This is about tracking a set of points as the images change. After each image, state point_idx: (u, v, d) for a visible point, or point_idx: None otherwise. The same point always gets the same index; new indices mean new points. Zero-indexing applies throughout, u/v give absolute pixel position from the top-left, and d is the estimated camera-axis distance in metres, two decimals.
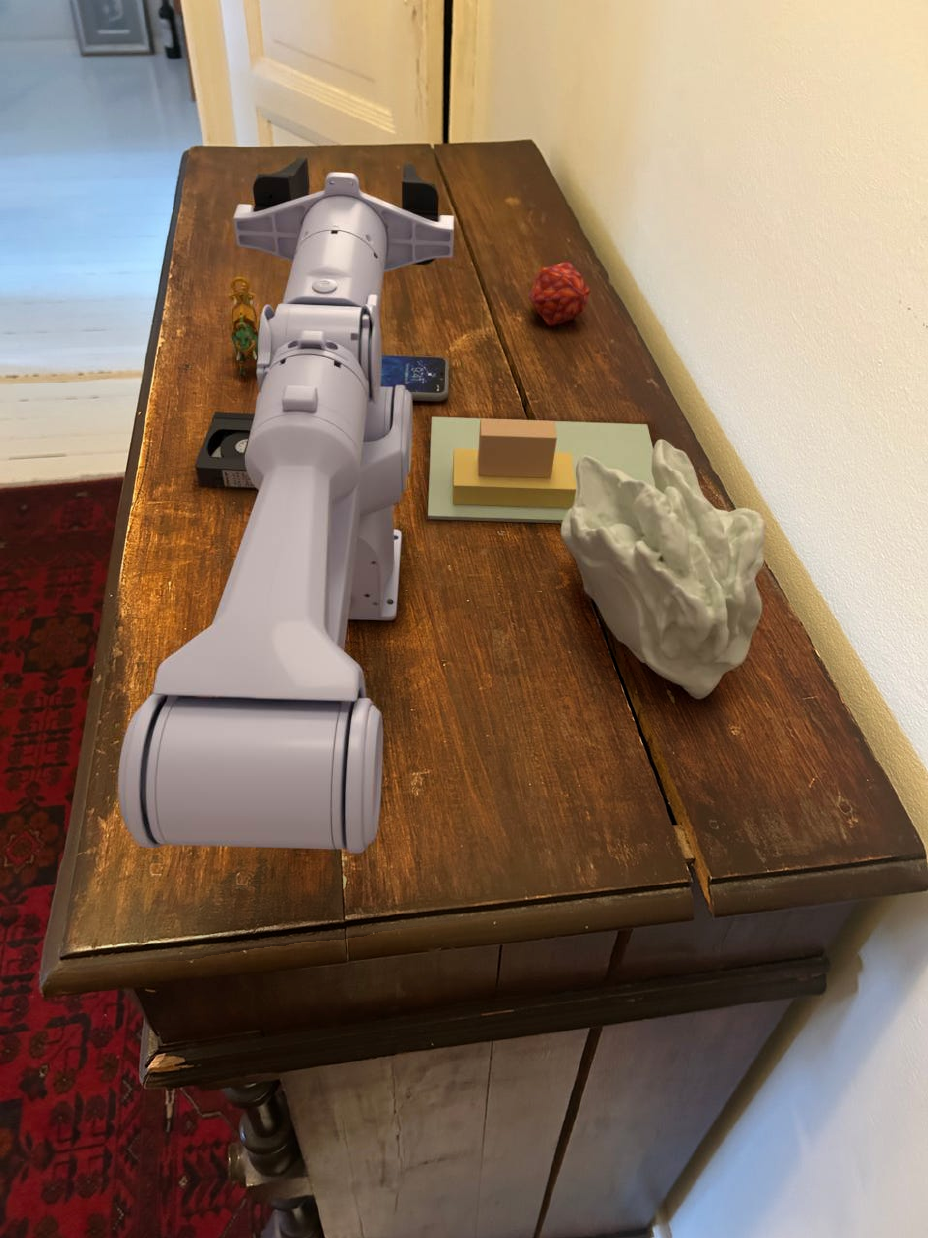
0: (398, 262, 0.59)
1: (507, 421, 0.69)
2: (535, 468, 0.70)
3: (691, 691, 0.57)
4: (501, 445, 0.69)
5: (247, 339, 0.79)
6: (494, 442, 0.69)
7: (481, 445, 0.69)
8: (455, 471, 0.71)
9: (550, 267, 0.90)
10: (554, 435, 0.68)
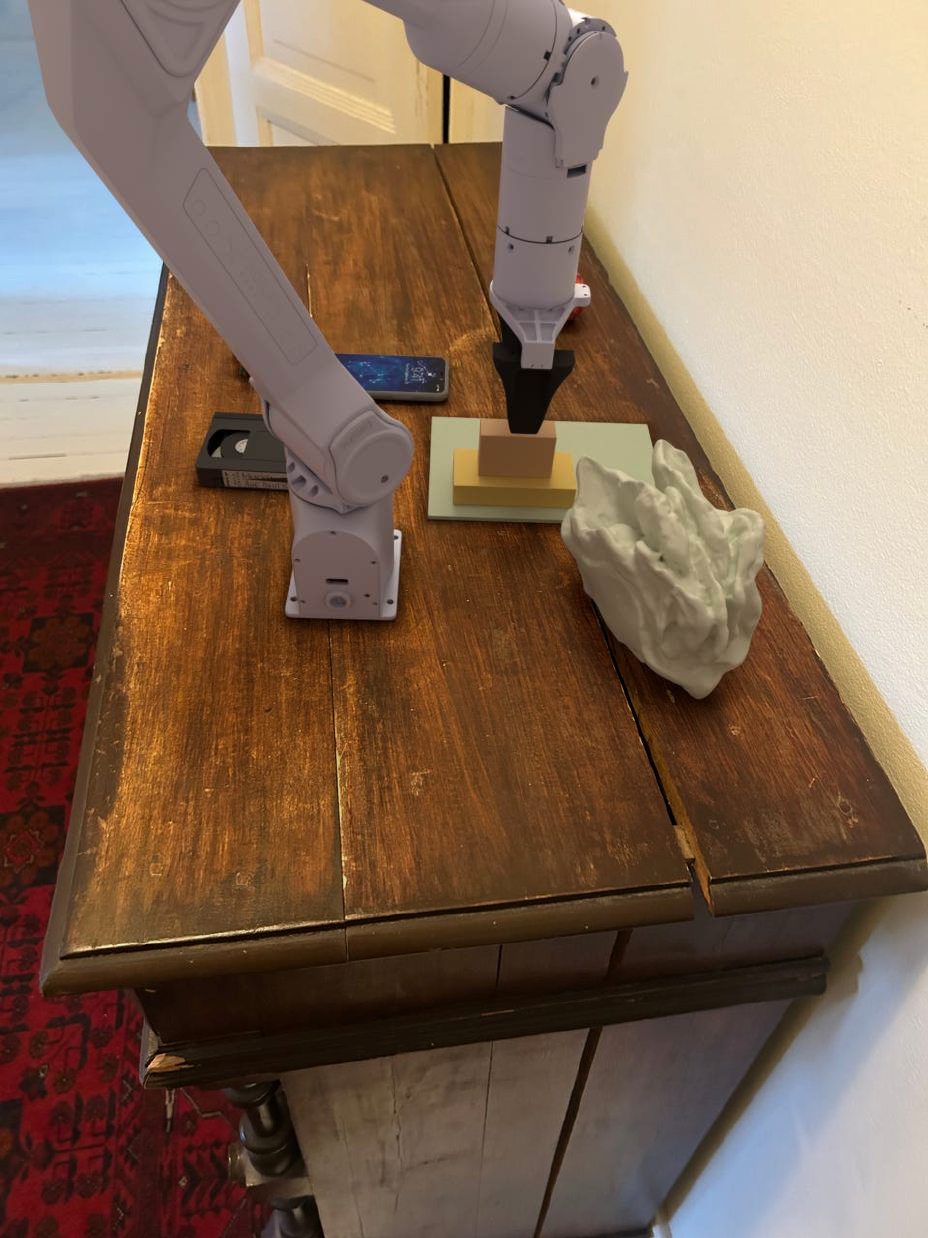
0: None
1: (507, 421, 0.69)
2: (535, 468, 0.70)
3: (691, 691, 0.57)
4: (501, 445, 0.69)
5: None
6: (494, 442, 0.69)
7: (481, 445, 0.69)
8: (455, 471, 0.71)
9: None
10: (554, 435, 0.68)
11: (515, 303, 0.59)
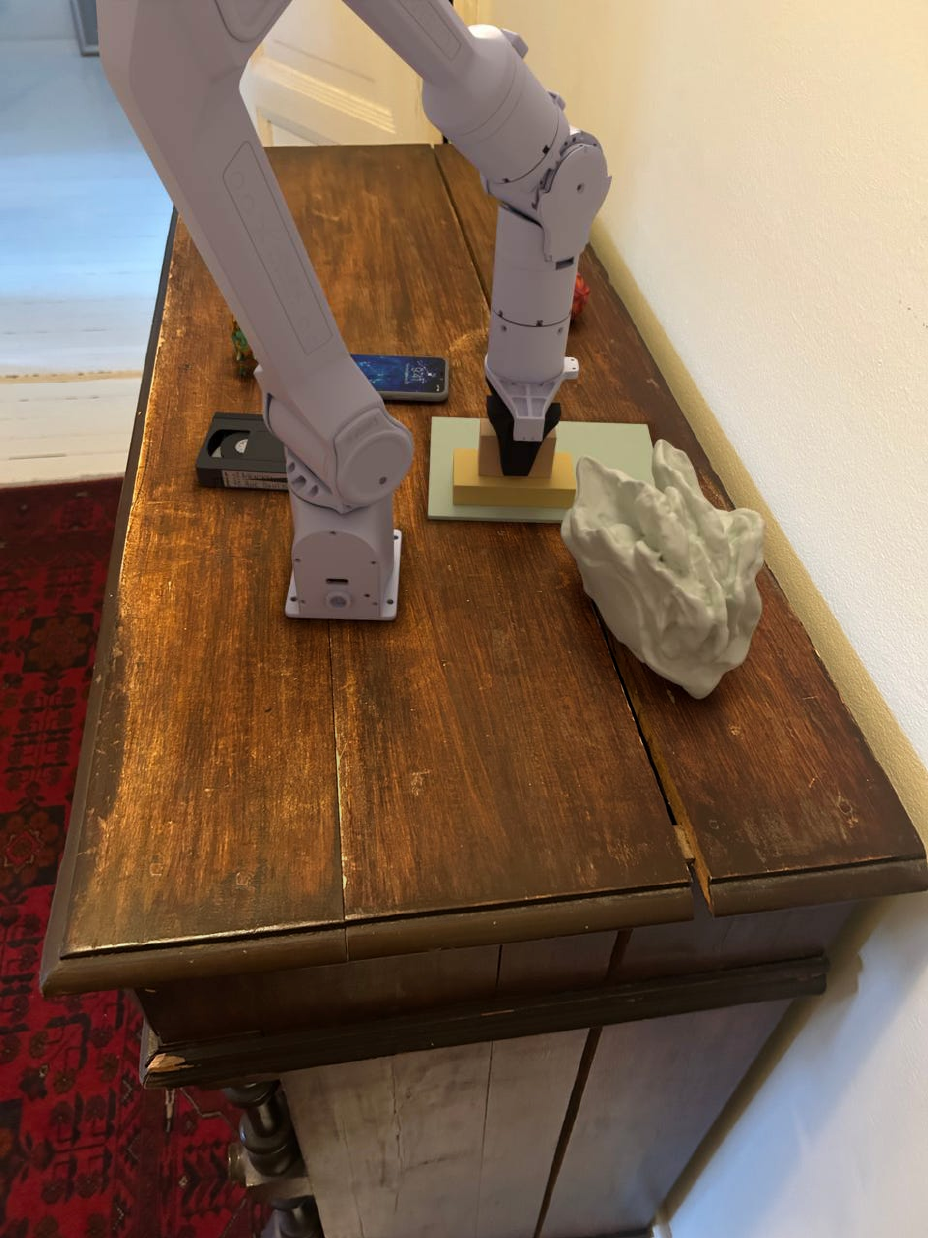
0: None
1: None
2: (535, 468, 0.70)
3: (691, 691, 0.57)
4: None
5: None
6: (494, 442, 0.69)
7: (481, 445, 0.69)
8: (455, 471, 0.71)
9: None
10: (554, 435, 0.68)
11: (508, 378, 0.63)
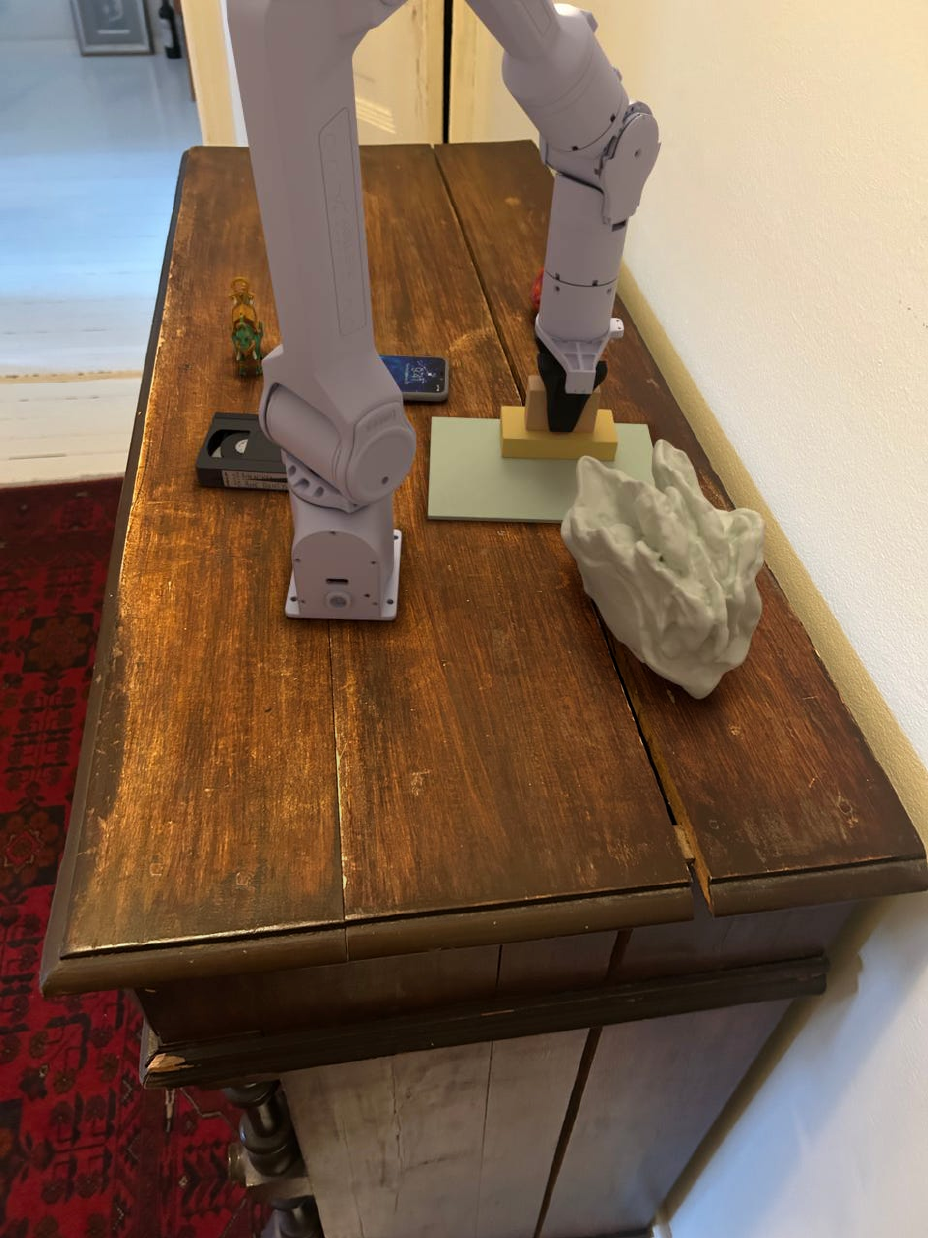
0: None
1: None
2: (580, 423, 0.75)
3: (691, 691, 0.57)
4: None
5: (247, 339, 0.79)
6: (542, 397, 0.73)
7: (530, 400, 0.73)
8: (504, 426, 0.76)
9: None
10: (598, 390, 0.73)
11: (559, 336, 0.68)
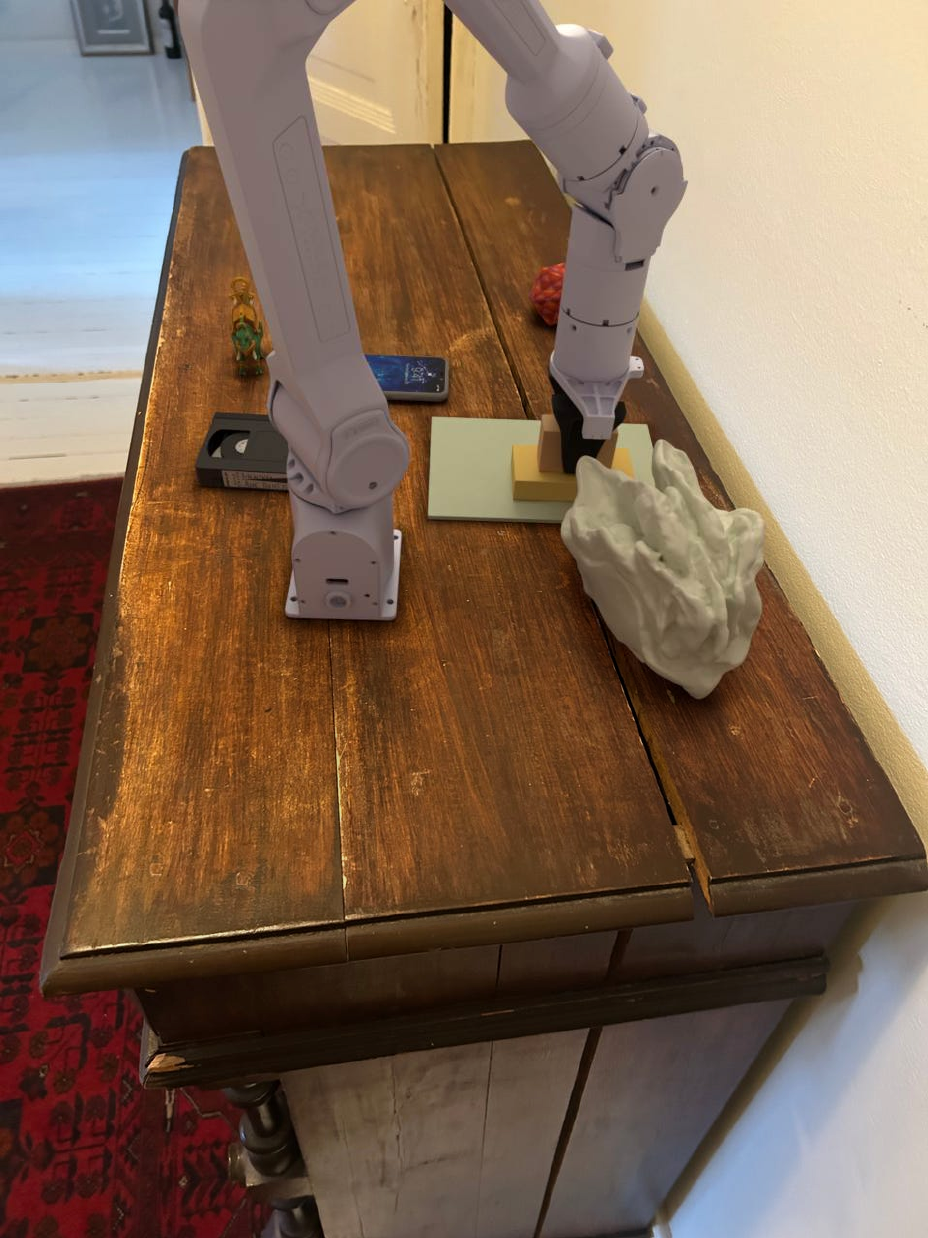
0: None
1: None
2: None
3: (691, 691, 0.57)
4: None
5: (247, 339, 0.79)
6: (556, 438, 0.69)
7: (543, 441, 0.69)
8: (515, 466, 0.72)
9: (550, 267, 0.90)
10: (616, 431, 0.69)
11: (575, 377, 0.64)
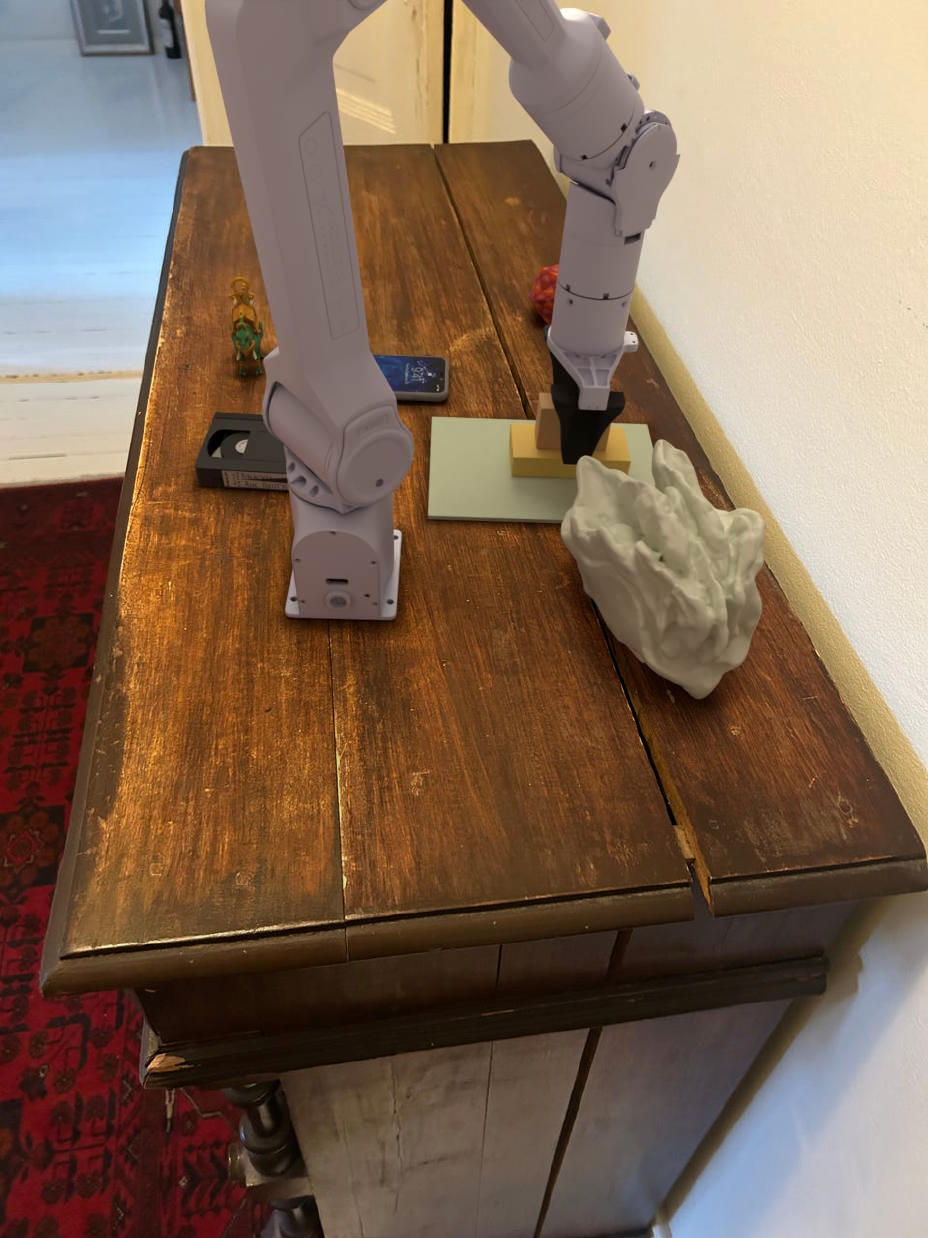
0: None
1: None
2: None
3: (691, 691, 0.57)
4: None
5: (247, 339, 0.79)
6: (553, 415, 0.71)
7: (541, 418, 0.72)
8: (514, 444, 0.74)
9: (550, 267, 0.90)
10: None
11: (572, 350, 0.66)
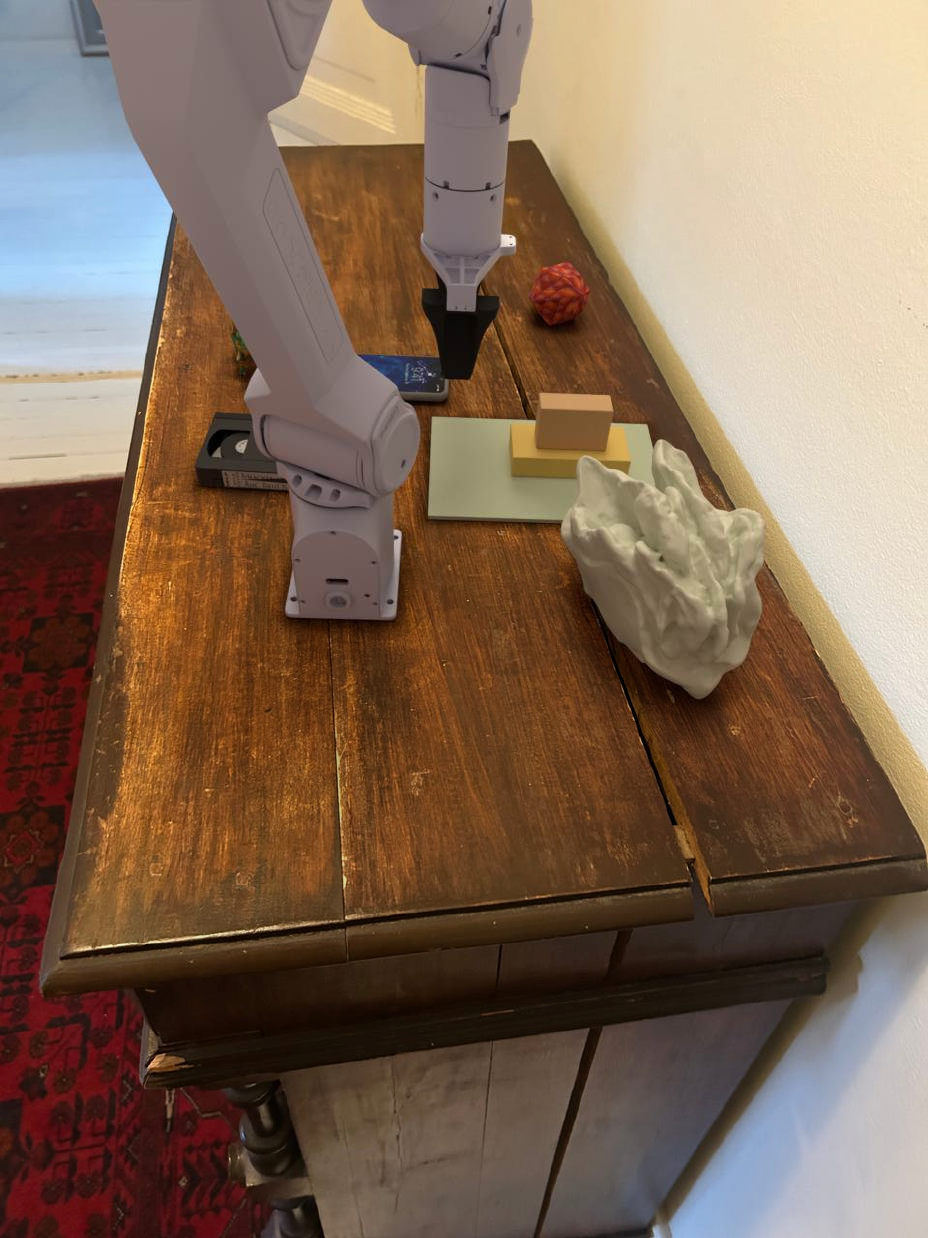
0: None
1: (565, 395, 0.72)
2: (591, 441, 0.73)
3: (691, 691, 0.57)
4: (560, 418, 0.72)
5: None
6: (553, 415, 0.71)
7: (541, 418, 0.72)
8: (514, 444, 0.74)
9: (550, 267, 0.90)
10: (611, 408, 0.71)
11: (443, 251, 0.62)
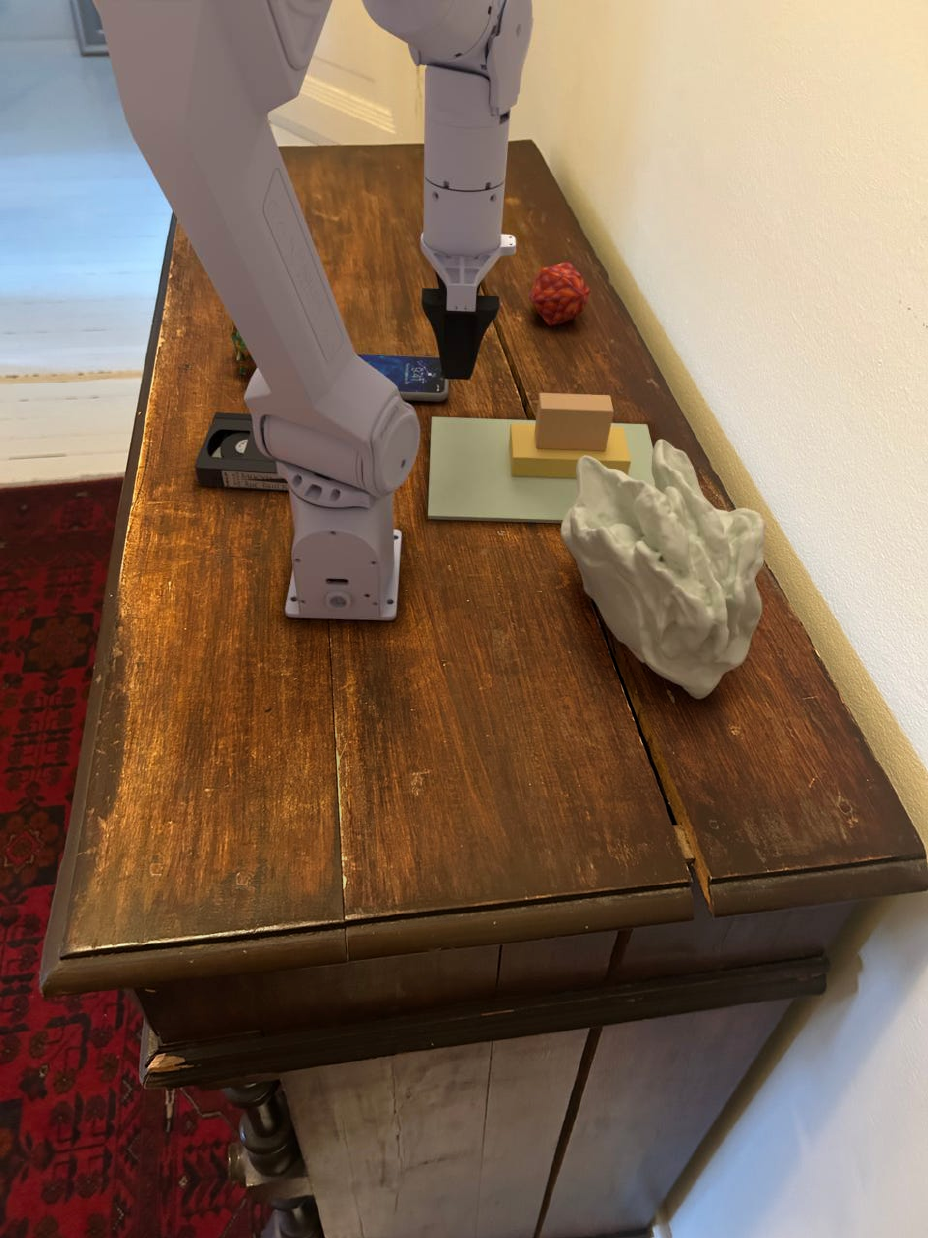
0: None
1: (565, 395, 0.72)
2: (591, 441, 0.73)
3: (691, 691, 0.57)
4: (560, 418, 0.72)
5: None
6: (553, 415, 0.71)
7: (541, 418, 0.72)
8: (514, 444, 0.74)
9: (550, 267, 0.90)
10: (611, 408, 0.71)
11: (443, 251, 0.62)
